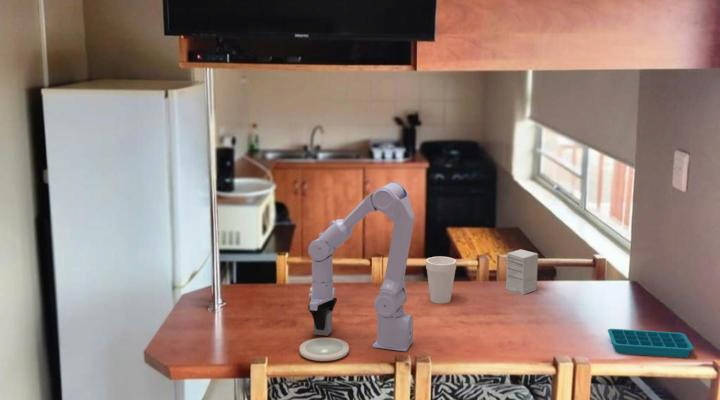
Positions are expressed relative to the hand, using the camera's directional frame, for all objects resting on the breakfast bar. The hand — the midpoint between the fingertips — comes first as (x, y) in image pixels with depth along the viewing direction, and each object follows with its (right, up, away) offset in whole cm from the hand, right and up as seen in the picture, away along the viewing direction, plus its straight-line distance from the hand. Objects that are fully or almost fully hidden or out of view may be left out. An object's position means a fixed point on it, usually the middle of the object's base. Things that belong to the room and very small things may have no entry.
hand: (323, 326), depth 216 cm
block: (0, -2, 0) cm, 2 cm away
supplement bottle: (-2, +1, +19) cm, 19 cm away
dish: (+1, -5, -12) cm, 13 cm away
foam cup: (+36, +4, +28) cm, 46 cm away
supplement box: (+63, +6, +37) cm, 74 cm away
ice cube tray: (+88, -5, -9) cm, 88 cm away
